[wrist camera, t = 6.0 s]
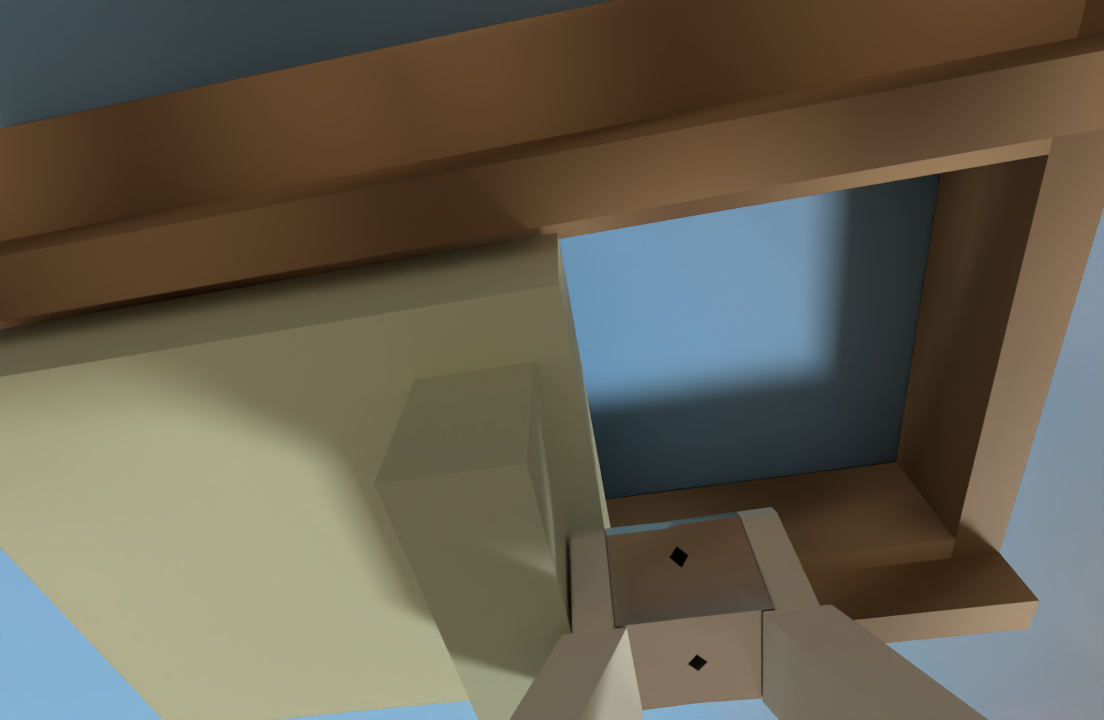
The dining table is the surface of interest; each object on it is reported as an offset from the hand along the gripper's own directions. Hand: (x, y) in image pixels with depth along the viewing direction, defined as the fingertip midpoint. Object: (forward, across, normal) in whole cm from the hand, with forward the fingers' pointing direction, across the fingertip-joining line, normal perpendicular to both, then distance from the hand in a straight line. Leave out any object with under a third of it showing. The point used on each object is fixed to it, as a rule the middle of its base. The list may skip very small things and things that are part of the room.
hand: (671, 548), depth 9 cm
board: (+5, +2, 0) cm, 6 cm away
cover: (+2, +6, 0) cm, 6 cm away
